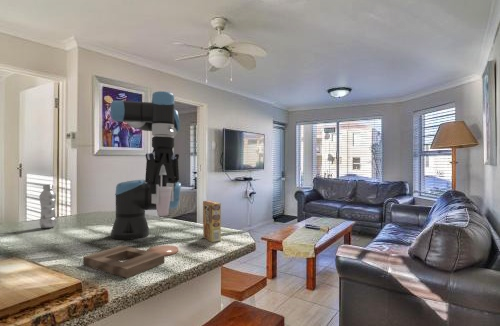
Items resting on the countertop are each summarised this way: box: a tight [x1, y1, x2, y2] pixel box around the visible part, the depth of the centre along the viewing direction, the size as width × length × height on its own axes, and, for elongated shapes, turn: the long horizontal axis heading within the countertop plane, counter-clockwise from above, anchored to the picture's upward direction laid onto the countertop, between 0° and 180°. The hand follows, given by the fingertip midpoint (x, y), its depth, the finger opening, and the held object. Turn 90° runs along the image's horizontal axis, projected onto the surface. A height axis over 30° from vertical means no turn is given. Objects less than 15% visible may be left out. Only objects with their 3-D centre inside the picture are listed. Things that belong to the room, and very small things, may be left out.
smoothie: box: [156, 175, 172, 217], centre depth 106 cm, size 6×6×14 cm
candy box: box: [202, 200, 222, 243], centre depth 123 cm, size 9×4×15 cm, turn 33°
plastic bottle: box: [38, 184, 58, 229], centre depth 140 cm, size 6×7×20 cm
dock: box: [82, 244, 165, 279], centre depth 94 cm, size 20×14×2 cm
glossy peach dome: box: [145, 244, 180, 257], centre depth 107 cm, size 11×11×1 cm
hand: (162, 202), depth 106 cm, fingers closed on smoothie, 6 cm apart
